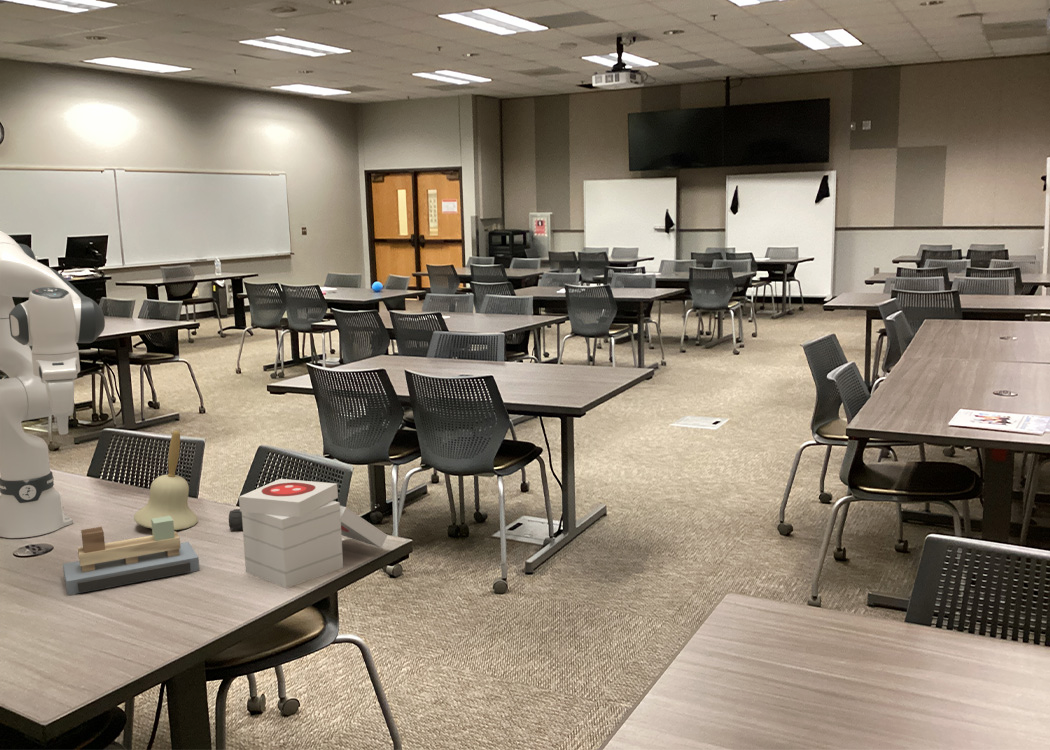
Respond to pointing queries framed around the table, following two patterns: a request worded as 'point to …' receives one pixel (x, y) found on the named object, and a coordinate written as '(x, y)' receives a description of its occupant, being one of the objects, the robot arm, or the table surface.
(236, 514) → the flashlight
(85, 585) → the dock
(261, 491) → the pizza boxes
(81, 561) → the pallet
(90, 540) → the block
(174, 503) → the handbell
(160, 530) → the block
